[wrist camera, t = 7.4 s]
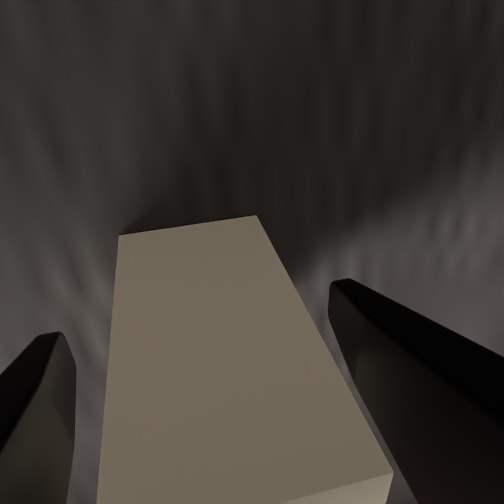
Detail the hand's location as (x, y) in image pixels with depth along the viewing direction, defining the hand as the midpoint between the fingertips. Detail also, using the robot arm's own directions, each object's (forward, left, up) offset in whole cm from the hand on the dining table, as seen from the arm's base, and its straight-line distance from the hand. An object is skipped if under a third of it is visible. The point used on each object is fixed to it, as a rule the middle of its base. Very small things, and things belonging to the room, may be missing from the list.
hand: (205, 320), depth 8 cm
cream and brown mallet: (0, +8, -2) cm, 8 cm away
